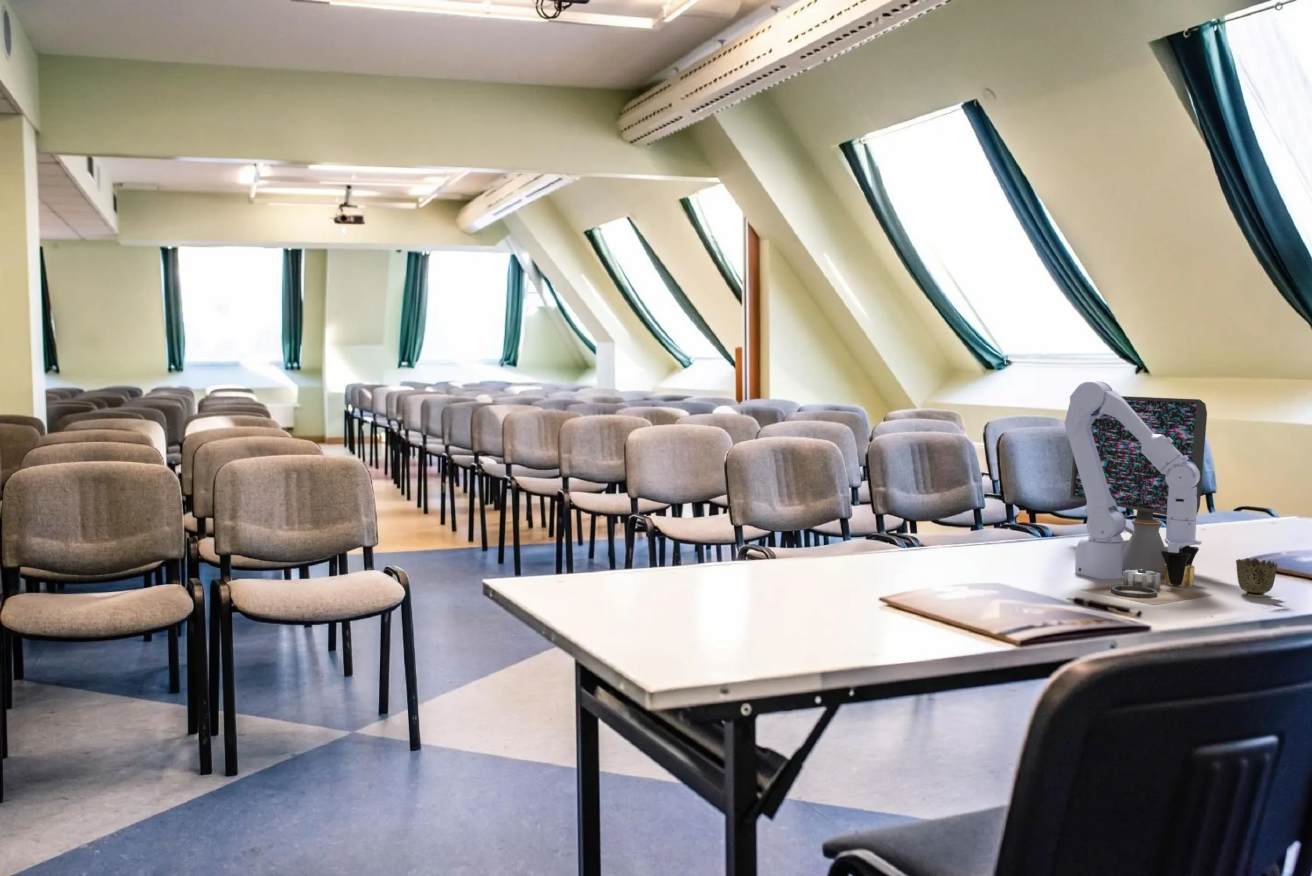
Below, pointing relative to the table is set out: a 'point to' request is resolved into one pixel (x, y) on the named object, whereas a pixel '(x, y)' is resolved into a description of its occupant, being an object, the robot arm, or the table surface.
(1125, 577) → the sun gear
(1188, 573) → the planet gear
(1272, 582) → the cup
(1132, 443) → the computer monitor
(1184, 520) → the robot arm
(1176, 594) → the carrier plate
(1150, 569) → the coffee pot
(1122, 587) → the ring
